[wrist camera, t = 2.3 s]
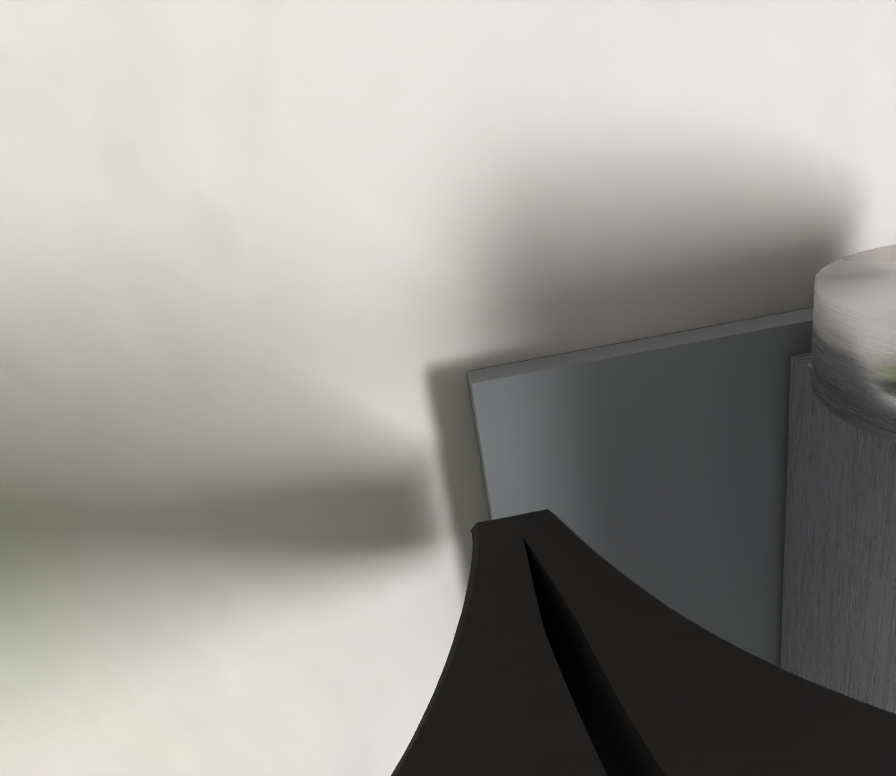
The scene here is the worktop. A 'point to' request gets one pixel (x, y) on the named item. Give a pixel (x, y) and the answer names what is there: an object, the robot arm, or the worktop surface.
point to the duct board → (660, 462)
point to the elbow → (844, 486)
